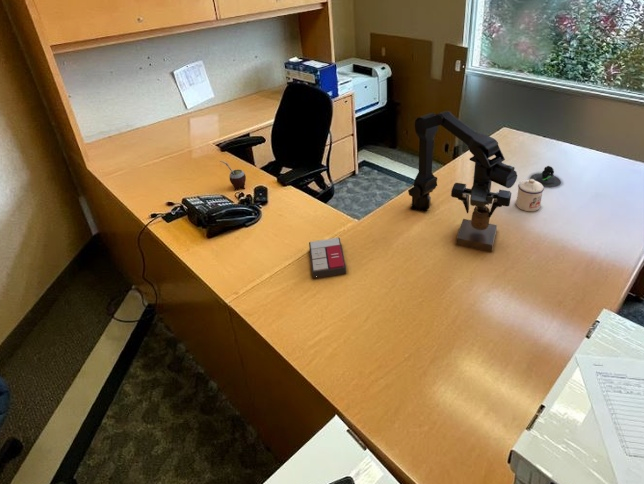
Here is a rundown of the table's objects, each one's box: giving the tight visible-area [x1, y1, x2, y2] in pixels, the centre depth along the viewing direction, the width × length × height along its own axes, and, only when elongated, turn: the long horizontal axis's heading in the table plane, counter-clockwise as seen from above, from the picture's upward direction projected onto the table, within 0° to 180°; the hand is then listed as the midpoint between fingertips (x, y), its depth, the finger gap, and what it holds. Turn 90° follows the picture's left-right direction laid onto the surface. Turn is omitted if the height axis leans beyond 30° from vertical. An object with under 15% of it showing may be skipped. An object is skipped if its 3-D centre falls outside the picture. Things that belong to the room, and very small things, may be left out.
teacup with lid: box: [515, 178, 545, 212], centre depth 160 cm, size 12×9×12 cm
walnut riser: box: [455, 218, 498, 253], centre depth 146 cm, size 12×12×3 cm
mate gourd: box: [219, 160, 247, 191], centre depth 185 cm, size 8×8×15 cm
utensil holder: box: [470, 204, 492, 230], centre depth 141 cm, size 6×6×12 cm
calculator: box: [308, 237, 347, 280], centre depth 140 cm, size 11×4×15 cm
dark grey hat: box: [529, 165, 562, 188], centre depth 175 cm, size 12×12×12 cm
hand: (478, 214), depth 142 cm, fingers closed on utensil holder, 7 cm apart
